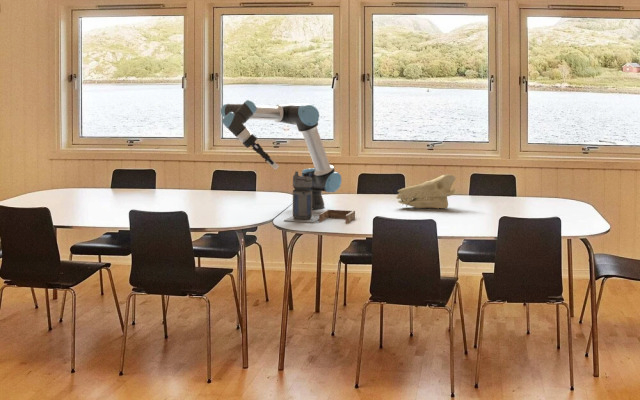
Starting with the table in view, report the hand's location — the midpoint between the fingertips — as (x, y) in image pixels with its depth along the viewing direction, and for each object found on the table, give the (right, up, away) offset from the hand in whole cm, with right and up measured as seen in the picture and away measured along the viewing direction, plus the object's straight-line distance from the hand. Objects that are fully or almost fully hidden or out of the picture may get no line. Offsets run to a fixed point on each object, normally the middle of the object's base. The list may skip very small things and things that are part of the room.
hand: (276, 167), depth 389 cm
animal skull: (+85, -22, +57) cm, 105 cm away
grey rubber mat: (+14, -27, +6) cm, 31 cm away
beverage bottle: (+14, -27, +6) cm, 31 cm away
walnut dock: (+32, -27, +6) cm, 43 cm away
